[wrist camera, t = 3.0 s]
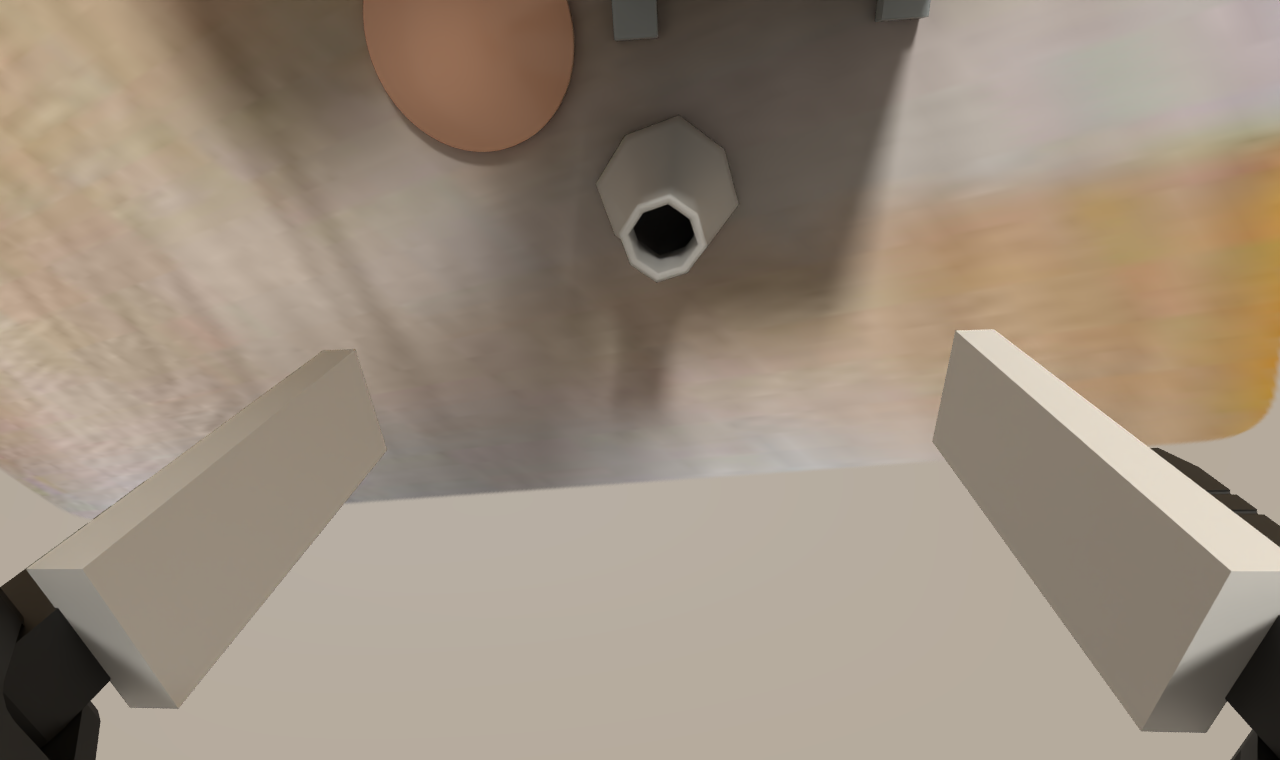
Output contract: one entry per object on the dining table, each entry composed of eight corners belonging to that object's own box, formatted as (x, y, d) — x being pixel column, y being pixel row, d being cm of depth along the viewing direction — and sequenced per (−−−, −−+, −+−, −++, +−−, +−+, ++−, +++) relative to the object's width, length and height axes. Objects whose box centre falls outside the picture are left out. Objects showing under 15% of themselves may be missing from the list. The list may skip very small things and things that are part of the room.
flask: (654, 284, 33) (645, 360, 24) (572, 179, 30) (529, 221, 21) (761, 206, 30) (796, 259, 22) (683, 86, 28) (685, 90, 19)
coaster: (341, -82, 25) (334, -85, 25) (560, -103, 25) (558, -107, 24) (399, 155, 30) (394, 157, 30) (585, 144, 29) (583, 146, 29)
